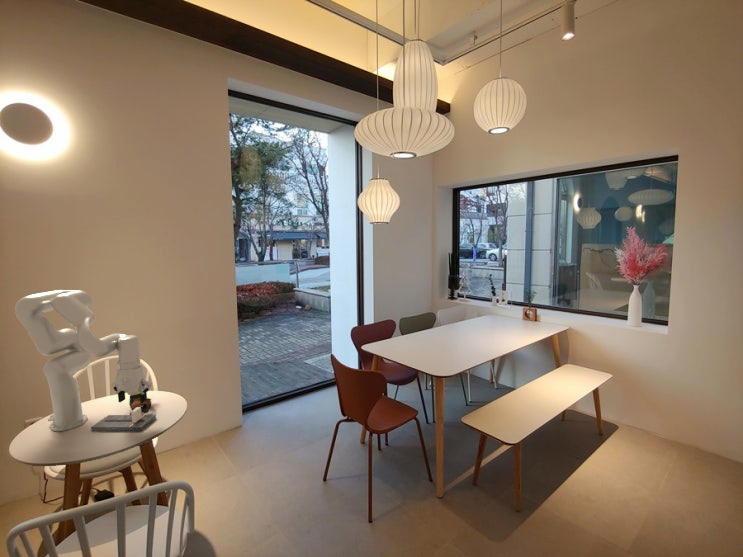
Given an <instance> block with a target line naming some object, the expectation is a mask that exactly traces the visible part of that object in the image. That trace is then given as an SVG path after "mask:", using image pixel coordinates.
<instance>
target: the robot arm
mask: <svg viewBox="0 0 743 557" xmlns="http://www.w3.org/2000/svg"><path fill="white" fill-rule="evenodd" d="M91 305H92V297H91V295H90V294H89V293H87V292H86V291H83V290H78V289H77V290H74V289H73V290H72V289H69V290H67V289H66V290H65V289H64V290H63V289H58V290H57V289H56V290H51V291H45V292H38V293H33V294H30V295H26V296H23V297H21V299H19V300H17V302H16V304H15V307H14V314H15V315H16V318H17V320H18V321H19V322H20V323H21V325H22V326H23V327H24V329H26V331H27V333H28V335H29V338H30V339H31V341H32V342H33V344H34V347H35V348H36V349H37V351H38V353H39V354H40V355H42V356H44V357H45V356H46V357H50V356H53V355H56V354H59V353H62V352H65V353H63V354H61V355H58V356H54V357H53V358H51V359H49V360H47V361H46V363H45V364H44V366H43V369H42V370H43V373H44V375H45V378H46V380H47V383H48V387H49V392H50V398H51V404H52V405H51V406H52V411H53V412H52V413H53V414H50V416H49V417H48V419H47V421H48V422H52V425H50V430H52V432H65V431H68V430H72V429H76V428H77V427H80V426H82V425H83V424H85V423H86V422H87V421H88V415H87V414H83V407H82V399H81V394H80V393H81V392H80V386H79V382H78V380H77V379H76V378H74V376H73V374H75V373H77V372H79V371H81V370H84V369H86V368H87V367H88V366H89V365H90V364H91V361H92V358H91V357H92V356H93V357H96V358H103V357H106V356H108V355H110V354H113V353H116V352H117V353H118V361H117V362H116V363H117V365H119V366H118V368H117V370H116V376H115V377H116V380H114V381H113V382H111V384H110V385H111V386H112V388H113V390H114V391H115V393H116V394H117V398H118V403H122V402H123V401H125V400H126V392H125V391H139V392H140V393H141V395H140V403H143V402H145V401H146V400H147V398H148V395H147V393H148V392H149V390H151V388H152V386H153V385H152V383H151V382H150V381H147V380H146V377H145V372H144V369H143V366H142V365H141V356H140V355H141V354H140V353H141V352H140V340H139V336H138V335H134V334H129V335H128V334H127V335H126V334H124V333H120V332H119V333H117V332H116V333H112V334H109V335H107V336H103V337H100V338H99V337H97V336H96V335H94V333H93V332H92V331H91V329H90V326H92V324H93V323H94V322H96V319H97V315H96V314H95V312H93V310H91V309H90V308H89V307H90V306H91ZM52 311H56V313H57V314H58V315H60V316H61V317H63V319H64V320H65V321H66V322H68V324H70V325H71V326H72V327H74V328H75V329H73V328H69V327H68V328H62V329H59V330H58V329H57V328H56V327H55V325H54V322H53V321H52V320H51V319H49V318H48V317H47V316H45V315H43V313H48V312H52ZM145 386H147V387H146V388H145ZM142 389H143V390H144V391H143V390H142Z"/></svg>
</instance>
